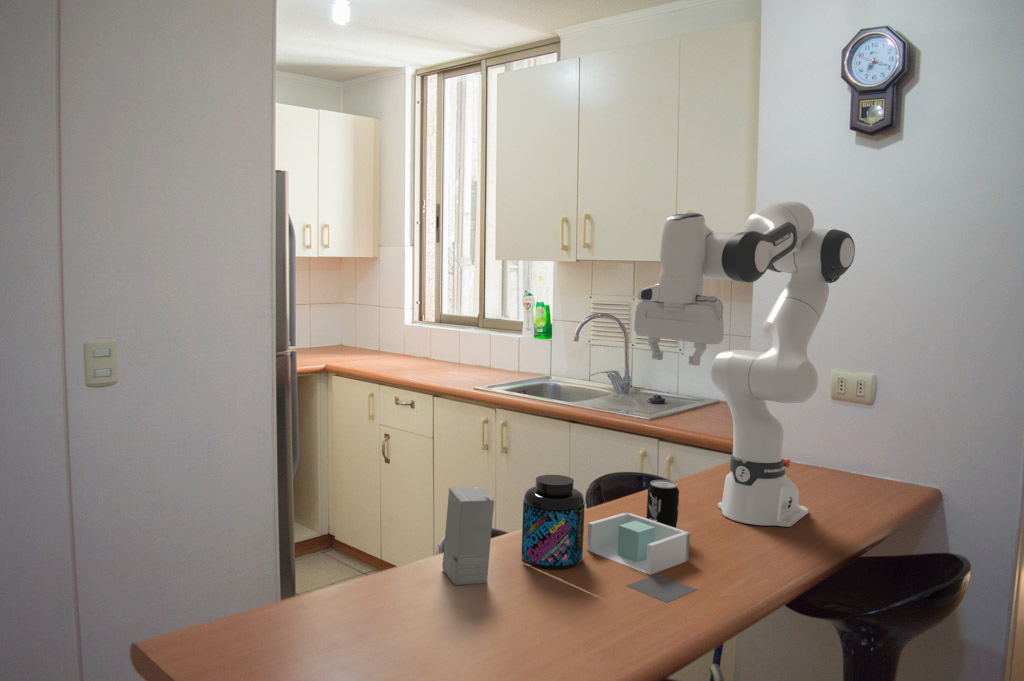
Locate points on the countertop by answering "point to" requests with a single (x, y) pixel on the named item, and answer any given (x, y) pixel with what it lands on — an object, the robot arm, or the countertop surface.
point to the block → (635, 540)
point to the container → (553, 523)
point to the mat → (662, 588)
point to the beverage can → (663, 502)
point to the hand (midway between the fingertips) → (675, 362)
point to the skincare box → (468, 535)
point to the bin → (660, 553)
